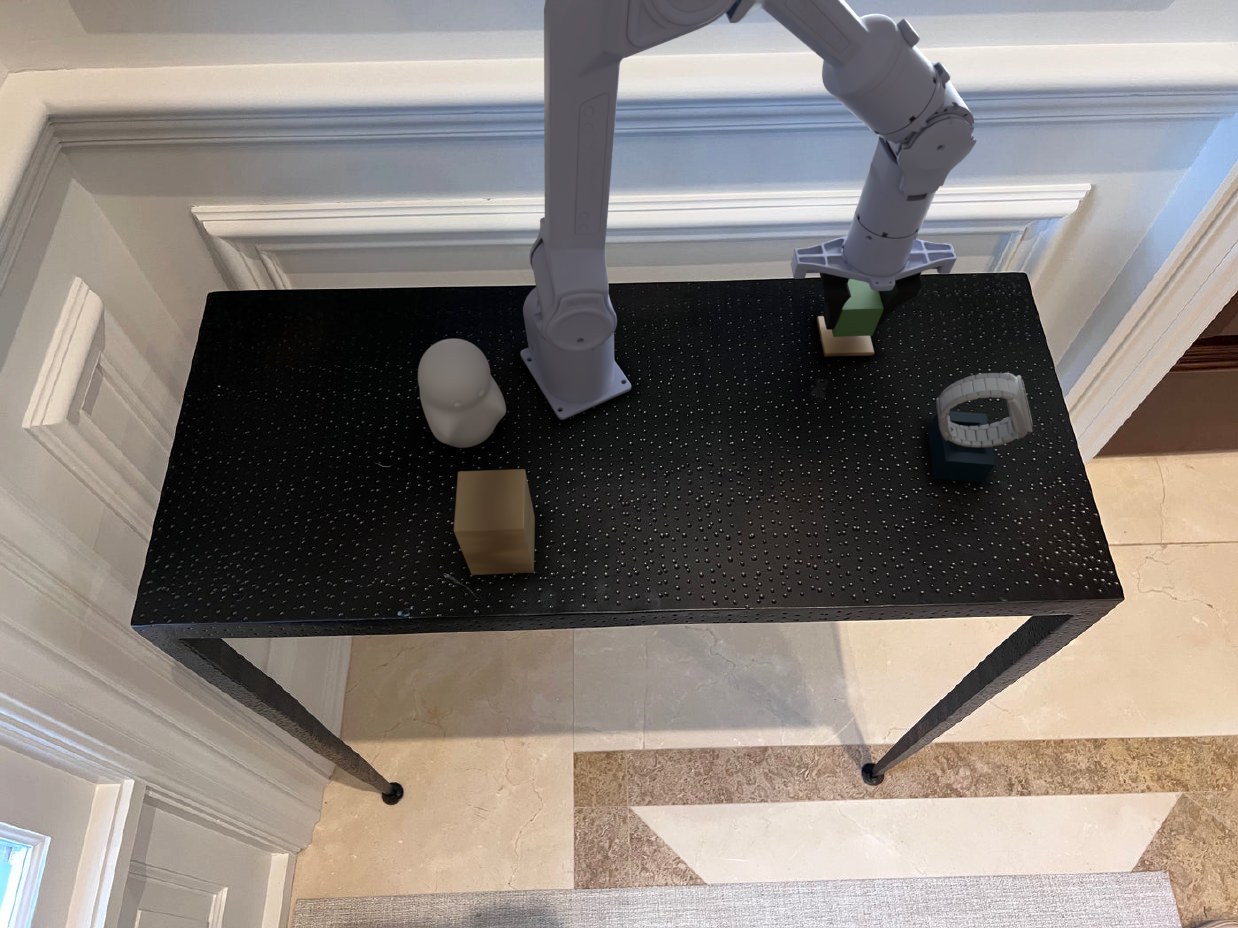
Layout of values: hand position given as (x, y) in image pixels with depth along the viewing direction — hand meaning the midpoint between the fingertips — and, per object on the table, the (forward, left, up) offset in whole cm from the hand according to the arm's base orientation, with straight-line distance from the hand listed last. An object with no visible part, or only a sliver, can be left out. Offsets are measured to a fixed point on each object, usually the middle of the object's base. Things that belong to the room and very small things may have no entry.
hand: (850, 321), depth 80 cm
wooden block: (+5, -41, -2) cm, 41 cm away
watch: (+17, 0, -3) cm, 17 cm away
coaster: (0, 0, -2) cm, 2 cm away
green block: (0, 0, 0) cm, 0 cm away
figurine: (-8, -39, -3) cm, 40 cm away
